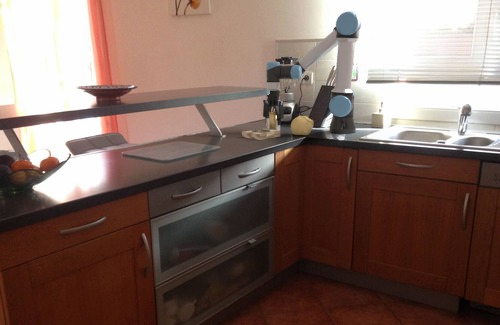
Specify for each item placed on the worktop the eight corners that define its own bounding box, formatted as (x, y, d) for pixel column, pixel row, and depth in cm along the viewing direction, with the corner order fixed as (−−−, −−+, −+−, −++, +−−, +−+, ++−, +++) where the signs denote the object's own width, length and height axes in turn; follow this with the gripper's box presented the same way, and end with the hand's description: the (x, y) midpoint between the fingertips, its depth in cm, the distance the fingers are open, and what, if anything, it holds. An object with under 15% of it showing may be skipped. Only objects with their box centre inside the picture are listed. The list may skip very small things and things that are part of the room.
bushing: (279, 132, 256) (279, 111, 253) (273, 133, 253) (273, 112, 250) (272, 131, 259) (272, 111, 256) (267, 132, 256) (267, 111, 253)
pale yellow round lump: (316, 135, 245) (316, 116, 242) (297, 137, 240) (298, 117, 237) (305, 132, 255) (305, 113, 252) (287, 134, 250) (287, 115, 247)
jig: (280, 136, 244) (280, 130, 243) (259, 140, 233) (259, 133, 233) (262, 133, 254) (262, 127, 253) (241, 136, 243) (241, 131, 242)
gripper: (290, 90, 246) (290, 131, 251) (265, 88, 260) (265, 127, 265) (281, 90, 241) (281, 132, 246) (256, 89, 255) (256, 129, 260)
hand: (273, 130), depth 256 cm, fingers open, 7 cm apart
